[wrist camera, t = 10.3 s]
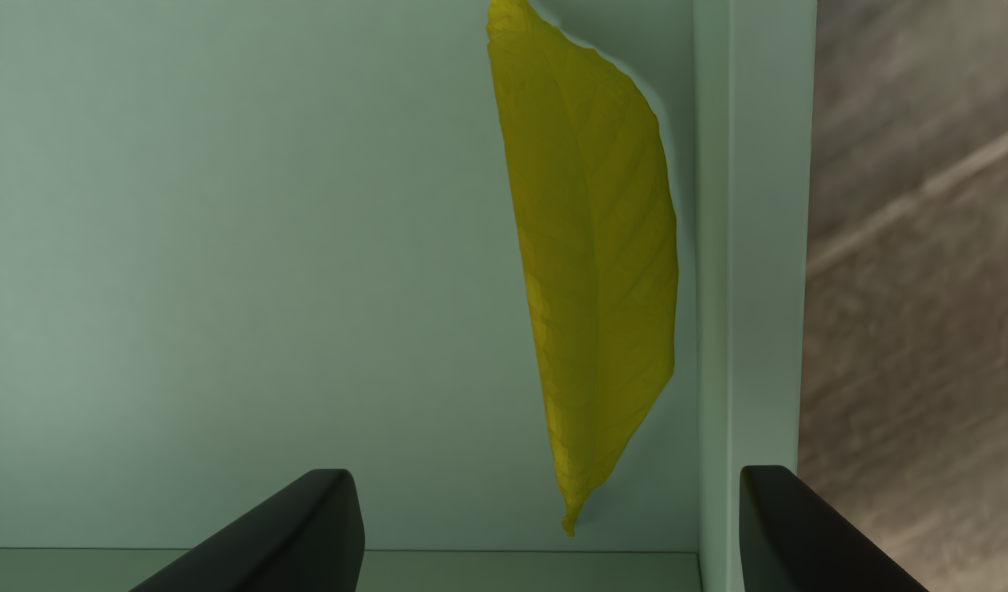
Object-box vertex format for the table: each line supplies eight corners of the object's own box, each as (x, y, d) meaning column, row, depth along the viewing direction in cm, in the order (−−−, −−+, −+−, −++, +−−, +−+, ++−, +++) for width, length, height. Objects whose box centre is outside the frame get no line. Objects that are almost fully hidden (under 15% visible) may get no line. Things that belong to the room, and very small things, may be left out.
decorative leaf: (700, 531, 15) (580, 647, 13) (612, 493, 17) (489, 591, 15) (670, -31, 12) (497, 1, 10) (561, -20, 13) (388, 11, 11)
